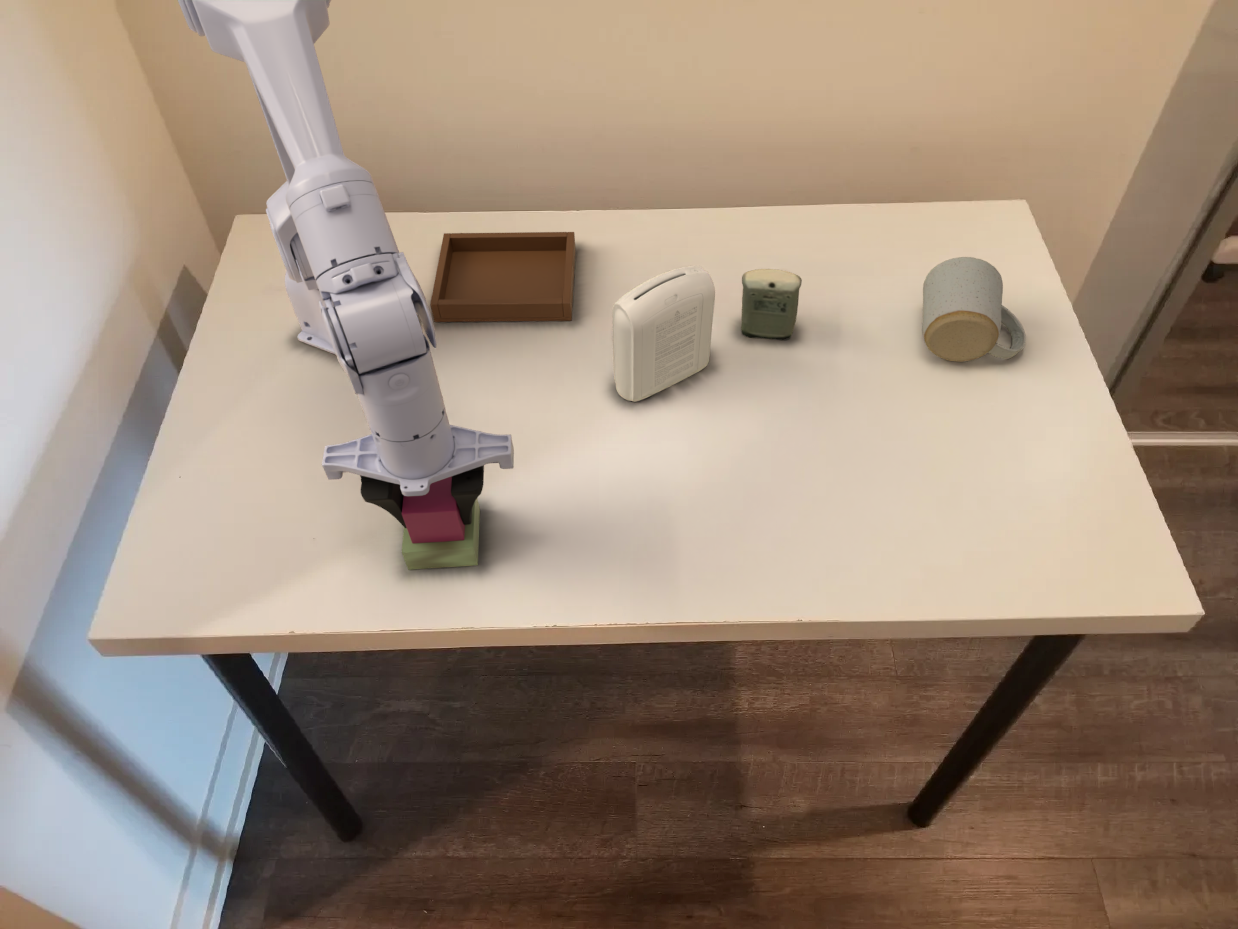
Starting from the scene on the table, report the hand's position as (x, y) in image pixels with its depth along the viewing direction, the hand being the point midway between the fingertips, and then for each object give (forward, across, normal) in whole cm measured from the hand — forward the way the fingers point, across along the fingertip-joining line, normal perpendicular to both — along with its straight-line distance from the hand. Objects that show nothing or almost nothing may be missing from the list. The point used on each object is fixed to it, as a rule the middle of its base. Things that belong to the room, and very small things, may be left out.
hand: (438, 516), depth 79 cm
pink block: (+1, 0, 0) cm, 1 cm away
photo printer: (+4, +21, +18) cm, 28 cm away
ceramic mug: (+4, +52, +21) cm, 56 cm away
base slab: (+3, 0, 0) cm, 3 cm away
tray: (+3, +5, +33) cm, 33 cm away
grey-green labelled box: (+4, +32, +23) cm, 40 cm away
